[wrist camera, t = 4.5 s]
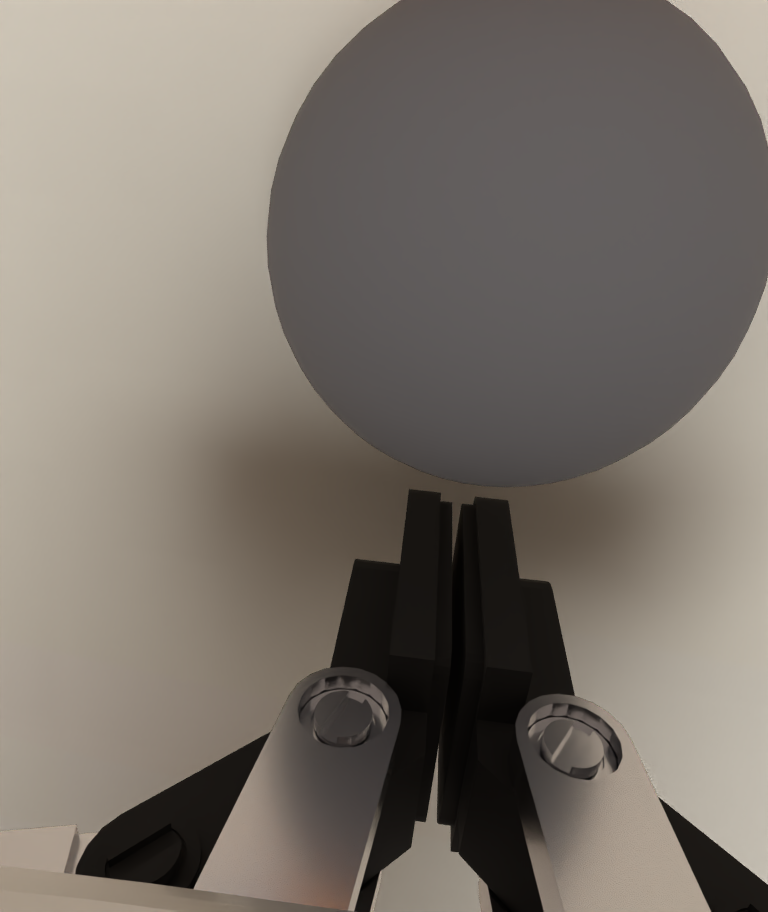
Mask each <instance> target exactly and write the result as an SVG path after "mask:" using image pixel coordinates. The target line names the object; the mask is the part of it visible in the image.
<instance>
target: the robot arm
mask: <svg viewBox="0 0 768 912" xmlns="http://www.w3.org/2000/svg"><path fill="white" fill-rule="evenodd" d="M440 497H441V493H437V492H428V491H419V490H411V489H409V495H408V503H407V511H406V520H405V528H404V536H403V545H402V553H401V561H400V564H394V563H386V562H377V561H369V560H360V559H355V561H354V565H353V569H352V574H351V578H350V583H349V587H348V592H347V596H346V600H345V605H344V609H343V614H342V618H341V623H340V627H339V632H338V636H337V640H336V645H335V649H334V654H333V658H332V663H331V667H330V668H326V669H323V670H320V671H318V672H315V673H312V674H310V675H309V676H307V677H306V678H305V679H303V680H302V681H300V682H299V683H298V684H297V685H296V686H295V688H294V689H293V691H292V692H291V693H290V695H289V696H288V698H287V700H286V702H285V704H284V706H283V708H282V710H281V712H280V714H279V717H278V719H277V721H276V723H275V725H274V727H273V729H272V731H271V732H269V733H267V734H266V735H264V736H262V737H260V738H258V739H257V740H255V741H253V742H251V743H249V744H248V745H246V746H244V747H242V748H240V749H239V750H237V751H235V752H233V753H231V754H230V755H228V756H226V757H224V758H222V759H221V760H219V761H217V762H215V763H213V764H211V765H210V766H208V767H206V768H204V769H202V770H201V771H199V772H197V773H195V774H193V775H192V776H190V777H188V778H186V779H184V780H183V781H181V782H179V783H177V784H175V785H174V786H172V787H170V788H168V789H166V790H164V791H163V792H161V793H159V794H157V795H155V796H154V797H152V798H150V799H148V800H146V801H145V802H143V803H141V804H139V805H137V806H136V807H134V808H132V809H130V810H128V811H127V812H125V813H123V814H121V815H120V816H118V817H117V818H116V819H114V820H113V821H111V822H110V823H109V824H107V825H106V826H104V827H103V828H102V829H101V830H100V831H99V832H93V833H82V834H78V829H77V824H76V825H65V826H53V827H42V828H30V829H19V830H7V831H0V912H374V908H375V904H376V900H377V896H378V892H379V888H380V883H381V875H382V870H383V869H384V868H385V867H386V866H388V865H389V864H390V863H392V862H393V861H394V860H395V859H397V858H398V857H399V856H401V855H402V854H403V853H404V852H406V851H407V850H408V849H409V848H411V844H412V837H413V831H414V824H415V821H421V822H426V818H427V812H428V806H429V800H430V793H431V787H432V781H433V775H434V769H435V763H436V757H437V751H438V745H439V755H438V797H437V823H438V824H443V825H450V826H451V851H452V852H459V855H460V856H461V857H462V858H463V859H464V860H465V861H466V862H467V863H468V865H469V866H470V867H471V868H472V869H473V870H474V871H475V872H476V873H477V875H478V876H479V882H478V885H479V902H480V907H481V912H768V885H767V884H766V883H765V882H764V881H762V880H761V879H760V878H759V877H757V876H756V875H755V874H754V873H752V872H751V871H750V870H749V869H747V868H746V867H745V866H744V865H742V864H741V863H740V862H739V861H737V860H736V859H735V858H734V857H732V856H731V855H730V854H729V853H727V852H726V851H725V850H724V849H722V848H721V847H720V846H719V845H718V844H716V843H715V842H714V841H713V840H711V839H710V838H709V837H708V836H706V835H705V834H704V833H703V832H701V831H700V830H699V829H698V828H696V827H695V826H694V825H693V824H691V823H690V822H689V821H688V820H686V819H685V818H684V817H683V816H681V815H680V814H679V813H678V812H676V811H675V810H674V809H673V808H671V807H670V806H669V805H668V804H666V803H665V802H664V801H663V800H661V799H660V798H659V797H658V796H657V794H656V792H655V789H654V787H653V785H652V783H651V781H650V779H649V776H648V774H647V772H646V770H645V768H644V766H643V763H642V761H641V759H640V757H639V755H638V753H637V750H636V748H635V746H634V744H633V742H632V740H631V738H630V737H629V735H628V733H627V732H626V730H625V729H624V727H623V726H622V724H620V723H619V722H618V721H617V720H616V719H615V718H614V717H613V716H612V715H611V714H610V713H609V712H607V711H606V710H604V709H602V708H601V707H599V706H598V705H596V704H594V703H593V702H590V701H587V700H585V699H582V698H579V697H576V696H575V695H574V690H573V685H572V680H571V676H570V671H569V666H568V661H567V657H566V652H565V647H564V642H563V638H562V633H561V628H560V624H559V619H558V614H557V609H556V605H555V600H554V595H553V590H552V587H551V584H550V583H549V582H545V581H537V580H529V579H520V578H519V572H518V565H517V558H516V551H515V544H514V537H513V530H512V524H511V517H510V510H509V503H508V501H507V500H499V499H490V498H481V497H475V499H474V503H473V505H469V504H462V506H461V510H460V517H459V523H458V530H457V537H456V543H455V550H454V557H453V563H452V503H451V502H442V501H440Z"/></svg>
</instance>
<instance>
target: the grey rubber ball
mask: <svg viewBox="0 0 768 912" xmlns="http://www.w3.org/2000/svg"><path fill="white" fill-rule="evenodd" d="M267 253H268V268H269V274H270V280H271V285H272V291H273V296H274V301H275V306H276V310H277V313H278V316H279V319H280V322H281V326H282V329H283V332H284V334H285V337H286V339H287V341H288V343H289V345H290V347H291V349H292V351H293V353H294V356H295V358H296V360H297V361H298V363H299V365H300V367H301V369H302V371H303V372H304V374H305V376H306V377H307V379H308V380H309V382H310V383H311V385H312V386H313V388H314V390H315V391H316V392H317V393H318V394H319V396H320V397H321V398H322V399H323V400H324V402H325V403H326V404H327V405H328V406H329V408H330V409H331V410H332V411H333V412H334V413H335V414H336V415H337V416H338V417H339V418H340V419H341V420H342V421H343V422H344V423H345V424H346V425H347V426H348V427H350V428H351V429H352V430H353V431H354V432H355V433H356V434H357V435H359V436H360V437H361V438H363V439H364V440H365V441H367V442H368V443H369V444H371V445H372V446H373V447H375V448H376V449H378V450H380V451H382V452H383V453H385V454H387V455H388V456H390V457H392V458H393V459H396V460H398V461H400V462H402V463H404V464H407V465H409V466H411V467H413V468H415V469H418V470H420V471H422V472H425V473H428V474H431V475H434V476H437V477H440V478H443V479H447V480H452V481H456V482H460V483H465V484H473V485H480V486H492V487H521V486H534V485H541V484H548V483H554V482H558V481H563V480H567V479H571V478H575V477H578V476H581V475H584V474H587V473H590V472H593V471H596V470H599V469H601V468H603V467H605V466H608V465H610V464H612V463H614V462H617V461H619V460H621V459H623V458H625V457H627V456H628V455H630V454H632V453H634V452H635V451H637V450H639V449H641V448H642V447H644V446H646V445H648V444H649V443H651V442H652V441H653V440H655V439H656V438H658V437H659V436H660V435H662V434H663V433H665V432H666V431H667V430H669V429H670V428H671V427H672V426H674V425H675V424H676V423H677V422H678V421H679V420H680V419H681V418H683V417H684V416H685V415H686V414H687V413H688V412H689V411H690V410H691V409H692V408H693V407H694V406H695V405H696V404H697V402H698V401H699V400H700V399H701V398H702V397H703V396H704V395H705V394H706V392H707V391H708V390H709V389H710V388H711V387H712V386H713V384H714V383H715V382H716V381H717V380H718V379H719V377H720V376H721V374H722V373H723V371H724V370H725V369H726V367H727V366H728V364H729V363H730V361H731V360H732V359H733V357H734V356H735V354H736V352H737V350H738V348H739V346H740V344H741V342H742V340H743V339H744V337H745V335H746V333H747V331H748V329H749V327H750V324H751V322H752V320H753V318H754V315H755V313H756V310H757V307H758V305H759V302H760V299H761V296H762V294H763V291H764V288H765V286H766V281H767V276H768V145H767V141H766V137H765V133H764V130H763V126H762V122H761V119H760V116H759V114H758V112H757V110H756V108H755V105H754V103H753V101H752V99H751V97H750V94H749V92H748V90H747V88H746V86H745V84H744V83H743V82H742V80H741V79H740V77H739V76H738V74H737V73H736V71H735V70H734V68H733V67H732V65H731V64H730V62H729V61H728V60H727V58H726V57H725V55H724V54H723V52H722V51H721V49H720V48H719V46H718V45H717V44H716V43H715V42H714V41H713V40H712V39H711V38H710V37H709V36H708V35H707V34H706V33H705V32H704V30H703V29H702V28H701V27H700V26H699V25H698V24H697V23H696V22H695V21H694V20H693V19H692V18H691V17H689V16H688V15H686V14H685V13H684V12H682V11H681V10H679V9H678V8H677V7H675V6H674V5H672V4H671V3H670V2H668V1H667V0H401V1H399V2H397V3H396V4H395V5H393V6H392V7H391V8H389V9H388V10H387V11H385V12H384V13H383V14H381V15H380V16H379V17H377V18H376V19H375V20H373V21H372V22H371V23H369V24H368V25H367V26H366V27H364V28H363V29H362V30H361V31H360V32H359V33H358V34H357V35H356V36H355V37H354V38H353V39H352V40H351V41H350V42H349V43H348V44H347V45H346V46H345V47H344V48H343V49H342V50H341V51H340V52H339V53H338V54H337V55H336V56H335V57H334V59H333V60H332V61H331V62H330V64H329V65H328V66H327V68H326V69H325V70H324V72H323V73H322V74H321V76H320V77H319V78H318V80H317V81H316V82H315V83H314V85H313V87H312V88H311V90H310V92H309V94H308V95H307V97H306V99H305V101H304V103H303V104H302V106H301V108H300V110H299V111H298V113H297V115H296V117H295V120H294V122H293V124H292V127H291V129H290V132H289V134H288V137H287V139H286V142H285V144H284V147H283V149H282V152H281V154H280V157H279V160H278V164H277V168H276V172H275V177H274V181H273V185H272V189H271V197H270V207H269V217H268V228H267Z"/></svg>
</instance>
